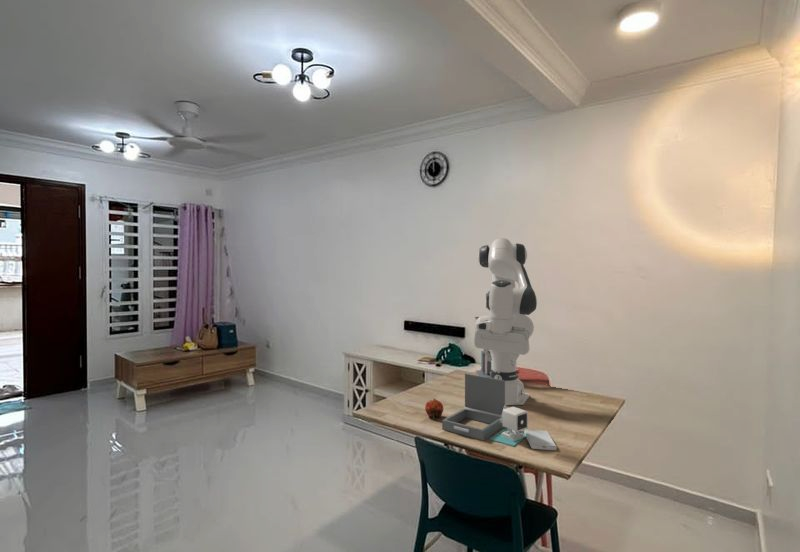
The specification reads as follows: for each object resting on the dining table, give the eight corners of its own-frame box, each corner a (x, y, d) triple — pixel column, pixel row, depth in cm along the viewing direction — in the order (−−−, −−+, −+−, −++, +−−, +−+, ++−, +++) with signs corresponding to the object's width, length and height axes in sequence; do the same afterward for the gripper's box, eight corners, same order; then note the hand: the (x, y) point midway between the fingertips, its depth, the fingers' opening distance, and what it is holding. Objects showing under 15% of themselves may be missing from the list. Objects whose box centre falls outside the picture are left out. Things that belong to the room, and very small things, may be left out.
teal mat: (504, 429, 160) (504, 428, 160) (527, 435, 155) (527, 434, 155) (489, 440, 151) (489, 438, 151) (513, 446, 145) (513, 445, 145)
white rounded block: (516, 443, 147) (516, 414, 147) (500, 436, 153) (500, 408, 153) (528, 439, 151) (528, 410, 150) (512, 432, 156) (512, 405, 156)
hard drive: (524, 429, 155) (531, 444, 143) (547, 430, 155) (556, 445, 142) (524, 433, 155) (531, 449, 143) (547, 435, 155) (556, 450, 142)
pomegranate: (443, 425, 171) (447, 404, 178) (439, 414, 166) (442, 393, 174) (425, 425, 173) (430, 404, 181) (421, 414, 169) (425, 393, 177)
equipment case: (465, 416, 175) (465, 373, 174) (507, 426, 164) (507, 380, 163) (441, 429, 160) (441, 383, 160) (484, 442, 149) (484, 392, 149)
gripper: (532, 327, 152) (531, 365, 153) (480, 321, 164) (480, 357, 165) (525, 329, 147) (525, 369, 148) (472, 324, 159) (472, 360, 160)
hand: (500, 363), depth 157 cm, fingers open, 8 cm apart
